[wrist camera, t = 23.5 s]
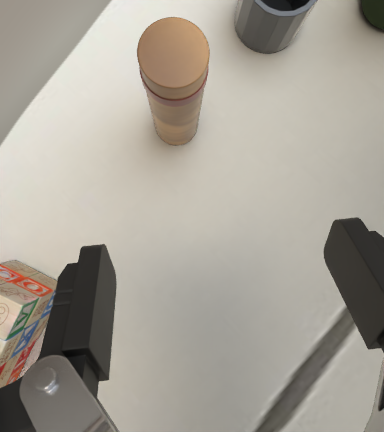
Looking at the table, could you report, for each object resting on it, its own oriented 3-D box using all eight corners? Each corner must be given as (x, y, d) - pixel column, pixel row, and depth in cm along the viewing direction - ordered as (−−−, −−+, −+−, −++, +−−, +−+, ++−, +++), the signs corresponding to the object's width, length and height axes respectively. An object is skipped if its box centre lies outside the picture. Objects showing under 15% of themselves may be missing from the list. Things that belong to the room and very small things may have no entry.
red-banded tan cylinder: (186, 95, 36) (190, 3, 21) (205, 134, 36) (223, 70, 21) (147, 114, 36) (122, 34, 21) (166, 153, 36) (156, 101, 21)
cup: (280, -20, 37) (302, -73, 30) (308, 37, 36) (336, -4, 30) (223, 6, 36) (233, -41, 30) (252, 64, 36) (267, 29, 30)
